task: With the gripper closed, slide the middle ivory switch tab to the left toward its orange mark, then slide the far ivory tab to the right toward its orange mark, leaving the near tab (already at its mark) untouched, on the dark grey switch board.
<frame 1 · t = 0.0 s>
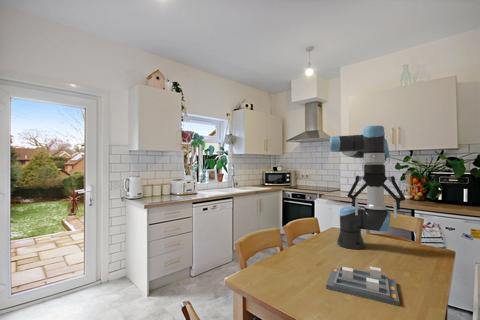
hand: (375, 216, 96), 28 cm above the table, fingers open, 13 cm apart
tab c: (372, 285, 88), point 4 cm above the table, slide at 10.0 cm
tab b: (347, 274, 98), point 4 cm above the table, slide at 1.0 cm
switch board: (361, 285, 95), on the table
tab a: (375, 273, 98), point 4 cm above the table, slide at 11.0 cm
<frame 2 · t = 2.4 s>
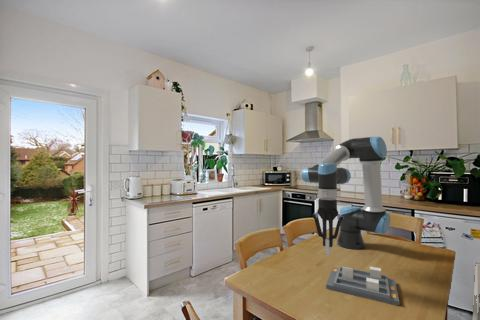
hand: (327, 253, 101), 11 cm above the table, fingers closed
nothing on the table moved.
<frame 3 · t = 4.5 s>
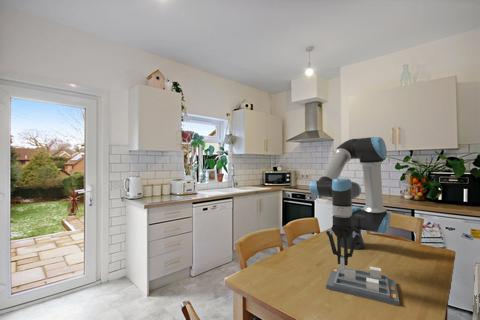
hand: (342, 272, 99), 4 cm above the table, fingers closed
tab b: (350, 274, 97), point 4 cm above the table, slide at 1.9 cm, touching gripper
everything else where it was.
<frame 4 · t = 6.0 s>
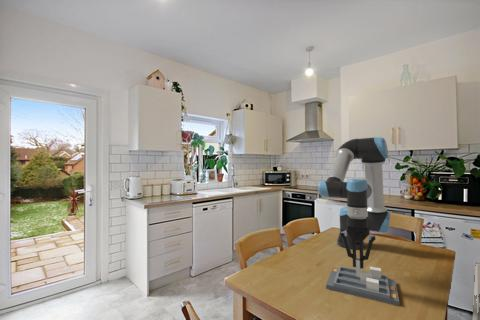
hand: (358, 275, 96), 4 cm above the table, fingers closed
tab b: (365, 277, 94), point 4 cm above the table, slide at 7.7 cm, touching gripper
everything else where it was.
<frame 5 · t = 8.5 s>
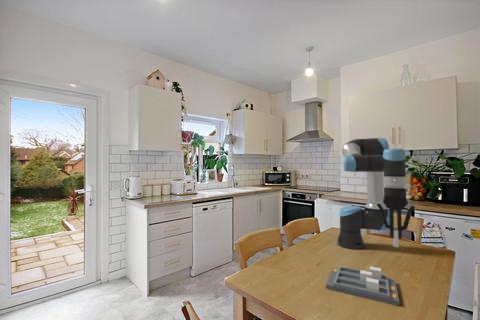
hand: (396, 246, 94), 16 cm above the table, fingers closed
tab b: (365, 277, 94), point 4 cm above the table, slide at 7.7 cm
everything else where it was.
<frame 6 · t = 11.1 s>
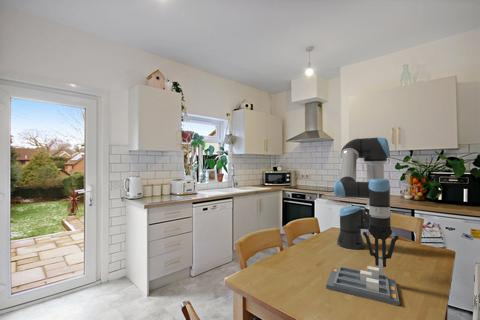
hand: (380, 273, 97), 4 cm above the table, fingers closed
tab a: (373, 273, 98), point 4 cm above the table, slide at 10.2 cm, touching gripper
everything else where it was.
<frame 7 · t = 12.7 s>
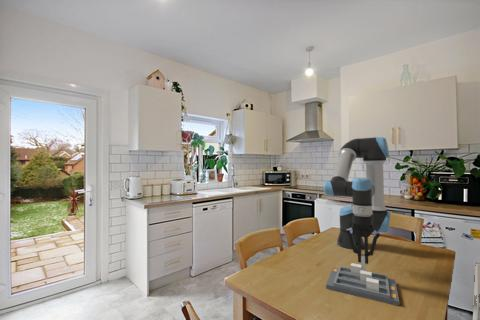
hand: (363, 270, 100), 4 cm above the table, fingers closed
tab a: (356, 269, 101), point 4 cm above the table, slide at 3.8 cm, touching gripper
everything else where it was.
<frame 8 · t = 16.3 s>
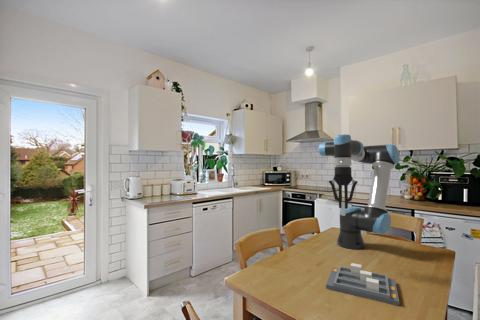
hand: (343, 215, 114), 24 cm above the table, fingers closed
tab a: (356, 269, 101), point 4 cm above the table, slide at 3.8 cm
everything else where it was.
at the end: tab b slide at 7.7 cm; tab a slide at 3.8 cm; tab c slide at 10.0 cm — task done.
